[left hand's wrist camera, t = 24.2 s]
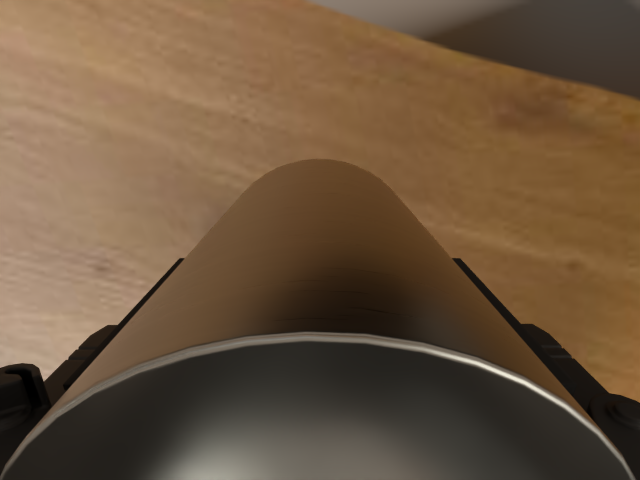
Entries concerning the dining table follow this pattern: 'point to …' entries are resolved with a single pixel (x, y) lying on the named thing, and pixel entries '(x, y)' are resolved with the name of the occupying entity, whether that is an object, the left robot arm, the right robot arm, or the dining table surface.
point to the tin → (317, 360)
